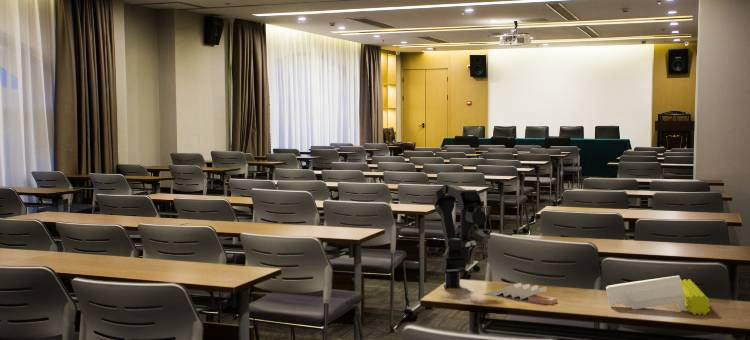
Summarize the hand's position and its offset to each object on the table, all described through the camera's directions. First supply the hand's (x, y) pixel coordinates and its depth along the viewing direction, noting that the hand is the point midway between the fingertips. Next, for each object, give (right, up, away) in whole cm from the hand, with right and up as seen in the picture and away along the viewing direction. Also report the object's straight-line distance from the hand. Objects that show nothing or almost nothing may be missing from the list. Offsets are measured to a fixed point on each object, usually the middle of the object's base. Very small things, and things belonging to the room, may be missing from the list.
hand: (467, 263), depth 290 cm
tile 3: (+17, -11, -5) cm, 21 cm away
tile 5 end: (+22, -11, -10) cm, 27 cm away
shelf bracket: (+60, -14, -21) cm, 65 cm away
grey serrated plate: (+18, -12, -5) cm, 22 cm away
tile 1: (+12, -11, 0) cm, 16 cm away
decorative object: (+79, -14, -15) cm, 82 cm away
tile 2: (+15, -11, -3) cm, 18 cm away
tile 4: (+20, -11, -7) cm, 24 cm away
